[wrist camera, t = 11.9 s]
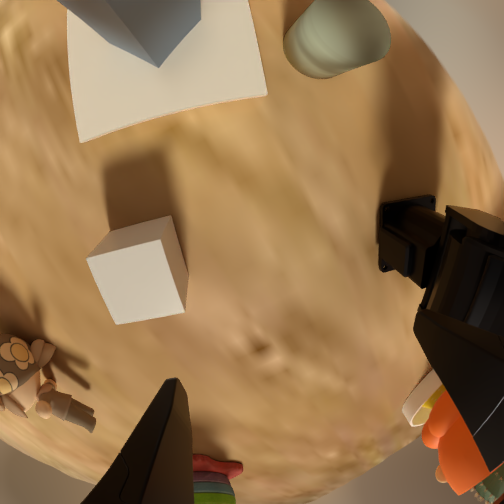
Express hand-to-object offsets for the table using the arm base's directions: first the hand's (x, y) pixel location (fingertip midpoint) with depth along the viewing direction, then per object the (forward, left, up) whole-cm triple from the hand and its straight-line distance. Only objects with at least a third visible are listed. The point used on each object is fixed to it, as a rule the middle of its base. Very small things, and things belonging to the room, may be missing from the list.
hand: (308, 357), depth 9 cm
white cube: (+8, 0, -13) cm, 15 cm away
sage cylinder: (-7, -13, -13) cm, 20 cm away
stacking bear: (+15, +39, -13) cm, 44 cm away
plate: (+4, -16, -13) cm, 21 cm away
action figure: (+26, +10, -13) cm, 31 cm away
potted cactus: (-29, +32, -13) cm, 45 cm away
